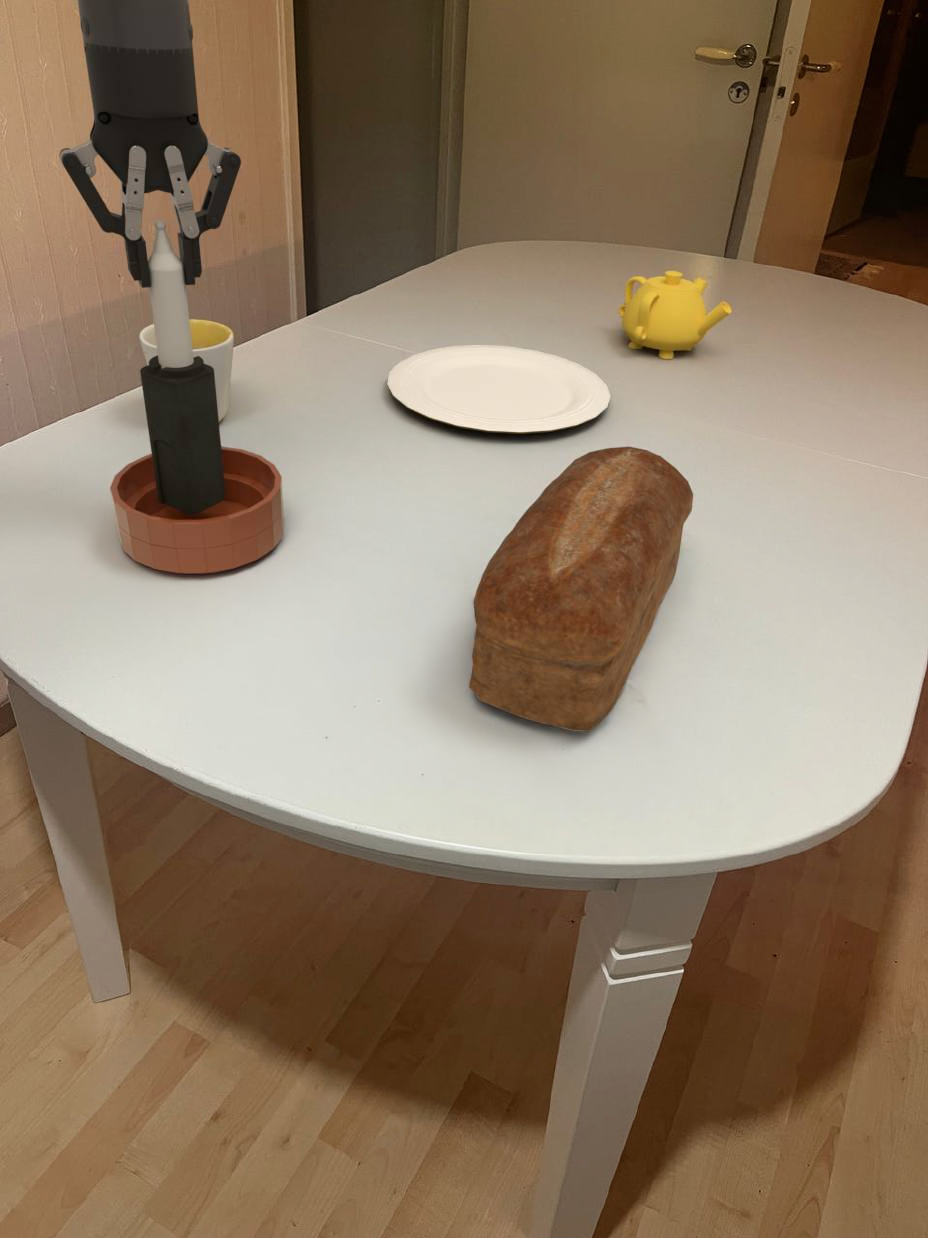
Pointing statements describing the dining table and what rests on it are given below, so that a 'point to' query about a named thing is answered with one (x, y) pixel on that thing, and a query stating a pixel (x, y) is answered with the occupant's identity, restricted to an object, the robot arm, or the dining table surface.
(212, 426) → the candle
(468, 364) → the plate
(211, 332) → the mug
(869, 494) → the dining table surface
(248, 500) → the bowl
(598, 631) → the bread
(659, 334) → the teapot
